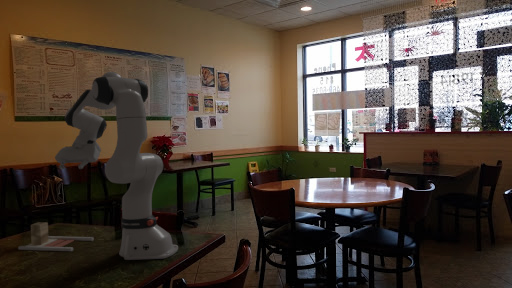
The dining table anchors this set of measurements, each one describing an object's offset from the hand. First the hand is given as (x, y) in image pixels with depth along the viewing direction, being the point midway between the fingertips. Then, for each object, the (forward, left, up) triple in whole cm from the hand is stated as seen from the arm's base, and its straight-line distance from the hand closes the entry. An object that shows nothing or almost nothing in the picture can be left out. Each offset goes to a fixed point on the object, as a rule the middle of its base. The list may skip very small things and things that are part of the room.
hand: (70, 168), depth 167 cm
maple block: (+6, +13, -31) cm, 34 cm away
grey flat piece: (-2, +13, -32) cm, 34 cm away
